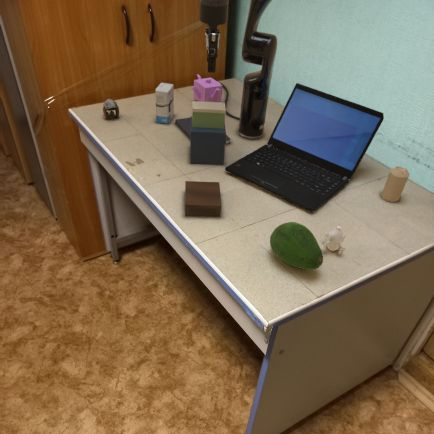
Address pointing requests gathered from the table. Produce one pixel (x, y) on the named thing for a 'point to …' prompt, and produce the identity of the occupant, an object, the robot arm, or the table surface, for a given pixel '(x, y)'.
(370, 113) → the laptop
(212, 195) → the low shelf
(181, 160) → the table surface
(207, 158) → the blue box
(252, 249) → the table surface
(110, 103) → the helmet
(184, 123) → the notebook
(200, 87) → the teapot
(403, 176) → the candle
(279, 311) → the table surface
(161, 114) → the ink box
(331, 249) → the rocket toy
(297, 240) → the fruit
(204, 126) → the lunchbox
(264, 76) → the robot arm
